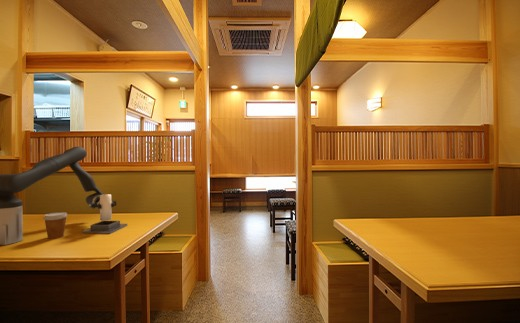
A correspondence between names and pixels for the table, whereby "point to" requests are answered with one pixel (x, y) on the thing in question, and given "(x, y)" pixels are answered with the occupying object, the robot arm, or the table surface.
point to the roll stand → (105, 227)
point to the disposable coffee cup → (55, 224)
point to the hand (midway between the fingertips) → (106, 206)
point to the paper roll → (105, 207)
